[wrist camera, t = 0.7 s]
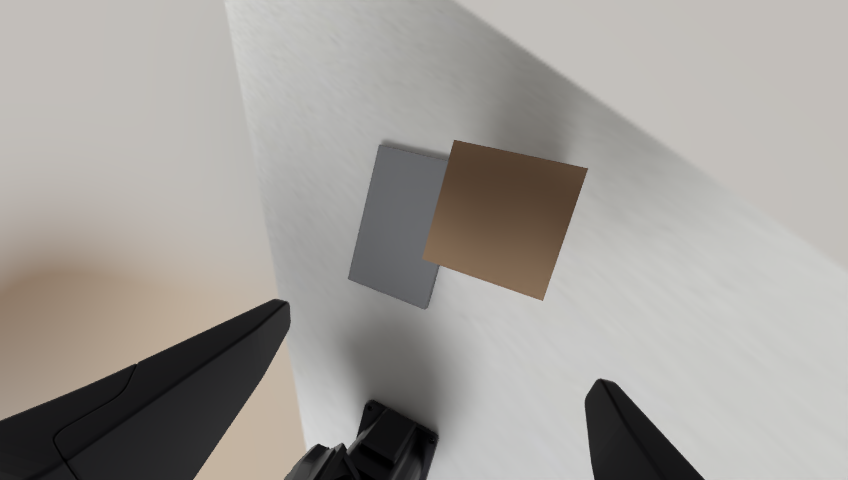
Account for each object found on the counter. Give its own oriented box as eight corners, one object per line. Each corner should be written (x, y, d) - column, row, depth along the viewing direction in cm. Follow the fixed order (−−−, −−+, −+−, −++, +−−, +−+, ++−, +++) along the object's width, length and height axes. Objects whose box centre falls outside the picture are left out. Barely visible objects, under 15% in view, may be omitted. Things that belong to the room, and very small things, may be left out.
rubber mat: (427, 307, 25) (425, 309, 24) (351, 277, 27) (347, 278, 26) (467, 166, 23) (465, 165, 23) (382, 146, 25) (379, 144, 25)
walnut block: (541, 257, 22) (542, 300, 11) (479, 238, 23) (422, 259, 12) (562, 194, 21) (587, 168, 10) (497, 178, 23) (454, 139, 11)
